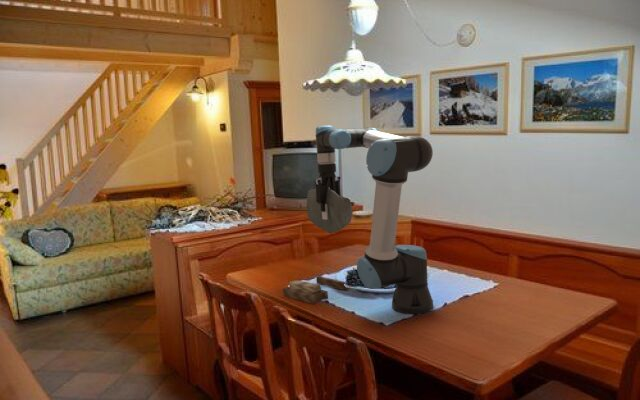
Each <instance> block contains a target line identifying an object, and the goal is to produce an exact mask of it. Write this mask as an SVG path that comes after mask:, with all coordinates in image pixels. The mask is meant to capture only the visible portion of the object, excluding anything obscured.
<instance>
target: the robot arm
mask: <svg viewBox="0 0 640 400" xmlns="http://www.w3.org/2000/svg"><path fill="white" fill-rule="evenodd" d="M315 142H316V156H317V158H316V159H317V163H318V164H317V172H318V174H319V177H318V178H316V179H314V185H315V188H316V202H317V203H319V204H321V212H322V219H326V220H327V219H328V208H327V204H326V196H327V188H328V189H331V190H333V191H334V192H335V193H336V194H338V195H339V196H342V194H341V176H337V175H336V173H337V164H336V161H337V160H336V150H343V149H351V148H352V149H354V148H365V149H368V150H367V152H366V159H365V161H366V162H365V164H366V165H367V167H366V168H367V170H368V172H369V174H370V175H371V177H372V179H373V181H374V182H375V189H374V199H373V201H374V202H373V209H372V220H371V231H370V240H369V245H367V246H366V247H365V249H364V256H360V257H359V258H358V259H357V262H356V269H357V274H358V277H359V279H360V282H361V283H362V284H363V286H364V287H365V288H367V289H369V290H374V289H381V288H384V287H387V286H393V285H395V288H394V289H395V290H394V292H393V295H392V300H391V308H392V309H393V310H394V311H396V312H399V313H402V314H410V315H411V314H413V315H414V314H424V313H427V312H430V311H431V310H433V308H434V300H433V298H432V295H431V292H430V290H429V286H428V285H429V284H428V258H427V250H426V249H425V248H424V247H422V246H418V245H413V244H396V237H397V228H398V221H399V214H400V213H399V212H400V203H401V194H402V188H403V185H404V184H405V183H407V181H408V176H409V175H408V174H409V173H412V172H418V171H421V170H424V169H425V168H426V167H427V166H428V165H429V164H430V163H431V161H432V159H433V155H434V154H433V147H432V144H431V143H430V142H429V140H428V139H426V138H424V137H421V136H415V135H409V136H402V135H397V134H393V133H388V132H384V131H379V130H378V129H377V128H375V127H363V128H347V129H344V128H343V129H342V128H338V129H334V126H333V125H321V126H316V128H315ZM395 244H396V245H395Z"/></svg>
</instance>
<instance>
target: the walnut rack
mask: <svg viewBox="0 0 640 400" xmlns="http://www.w3.org/2000/svg"><path fill="white" fill-rule="evenodd" d="M315 279H316V284H320V285H323V286H326V287H329V288H334V289H337V290H343V291H349V290H350V287H349V288H346V287H345V286H344V284H345V282H346V281H342V280H338V279H334V278H330V277H325V276H321V275H319V276H318V275H317V276H316V277H315ZM282 296H284V297H287V298H290V299H293V300H294V299H295V300H297V301H300V302H301V301H302V302H304V303H308V304H312V305H315V304H316V303H319V302H322V301H323V300H327V299H328V298H329V293H328V290H325V289H321V290H319V293H317V294H315V295H311V294H307V293H303V292H299V291H296V290H292V289H290V286H288V287H284V288H282Z"/></svg>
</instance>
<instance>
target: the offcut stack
mask: <svg viewBox="0 0 640 400" xmlns="http://www.w3.org/2000/svg"><path fill="white" fill-rule="evenodd" d="M289 287H290V289H292V290H296V291H299V292H303V293H307V294H311V295H315V294H317V293H319V290H322V288H321V287H322V286H321V284H317V283H314V282H309V281H308V282H307V281H304V280H303V281H302V280H298V279H294V280H292V281H289Z"/></svg>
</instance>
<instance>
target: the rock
mask: <svg viewBox="0 0 640 400" xmlns="http://www.w3.org/2000/svg"><path fill="white" fill-rule="evenodd" d="M326 204H327V208H328V219H327V220H326V219H322V212H321V204H319V203H317V202H316V187H315V188H314V189H309V190H308V191H307V196H306V212H307V213H306V214H307V218H308V221H309V222H311V223H312V224H313V225H315V226H316V227H317V228H319V229H321V230H322V231H324V232H327V234H333V233H337V232H339V231H341V230H343V229H344V228H346V227H347V226H348V225H350V223H351V222H352V217H353V212H354V210H353V206H352V201H351V199H350V198H348V197H345V196H342V195H341V196H339V195H338V194H336V193H335V192H334V191H333V190H331V189H329V187H328V188H327V196H326Z"/></svg>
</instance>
